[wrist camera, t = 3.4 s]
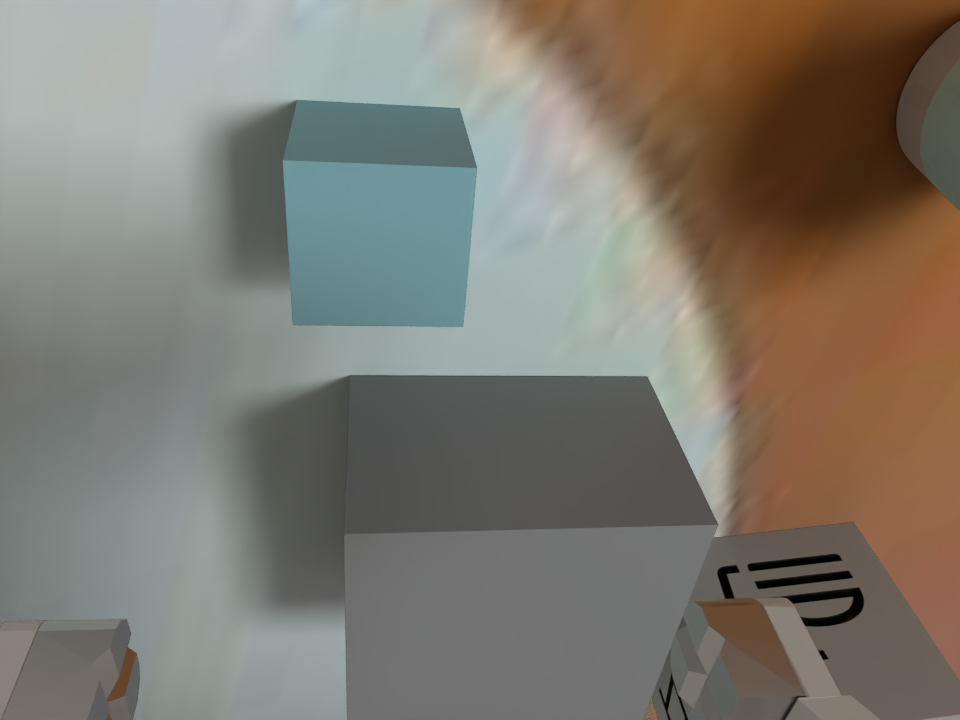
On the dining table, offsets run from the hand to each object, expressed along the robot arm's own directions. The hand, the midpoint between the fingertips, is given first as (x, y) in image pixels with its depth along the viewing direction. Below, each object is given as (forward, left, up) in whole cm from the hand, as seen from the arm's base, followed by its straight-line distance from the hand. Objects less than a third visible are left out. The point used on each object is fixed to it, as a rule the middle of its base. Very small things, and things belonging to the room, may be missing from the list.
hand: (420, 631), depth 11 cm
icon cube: (-19, +23, -18) cm, 35 cm away
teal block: (+1, 0, -18) cm, 18 cm away
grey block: (-4, +14, -17) cm, 23 cm away
